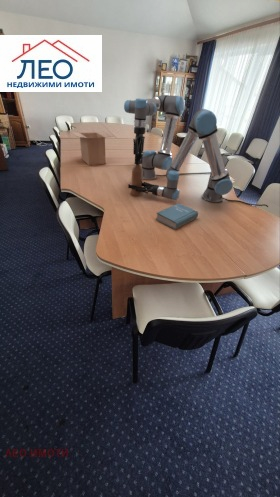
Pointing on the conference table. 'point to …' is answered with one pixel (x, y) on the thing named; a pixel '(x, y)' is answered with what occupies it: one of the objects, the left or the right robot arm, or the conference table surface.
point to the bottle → (137, 179)
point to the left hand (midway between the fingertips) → (137, 163)
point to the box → (92, 146)
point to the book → (176, 215)
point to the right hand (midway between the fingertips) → (131, 184)
